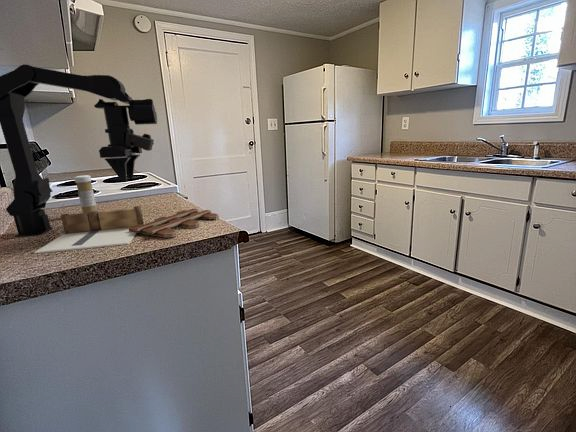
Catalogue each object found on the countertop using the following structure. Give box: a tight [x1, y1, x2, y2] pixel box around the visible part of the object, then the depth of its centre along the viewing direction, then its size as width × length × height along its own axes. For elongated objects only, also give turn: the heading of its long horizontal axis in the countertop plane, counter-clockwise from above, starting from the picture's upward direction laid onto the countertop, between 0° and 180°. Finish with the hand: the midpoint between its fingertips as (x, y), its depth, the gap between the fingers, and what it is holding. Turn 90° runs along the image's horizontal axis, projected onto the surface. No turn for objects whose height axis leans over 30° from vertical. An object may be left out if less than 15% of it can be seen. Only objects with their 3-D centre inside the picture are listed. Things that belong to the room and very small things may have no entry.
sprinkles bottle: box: [74, 174, 98, 213], centre depth 104 cm, size 5×5×13 cm
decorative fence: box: [129, 208, 220, 238], centre depth 89 cm, size 23×2×15 cm
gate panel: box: [98, 205, 145, 230], centre depth 87 cm, size 11×2×6 cm, turn 102°
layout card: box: [34, 227, 138, 255], centre depth 81 cm, size 20×17×1 cm
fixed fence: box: [60, 210, 101, 233], centre depth 85 cm, size 9×2×5 cm, turn 102°
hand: (127, 180), depth 91 cm, fingers open, 6 cm apart
